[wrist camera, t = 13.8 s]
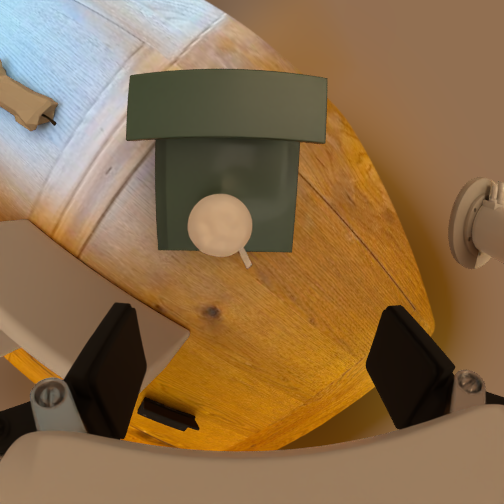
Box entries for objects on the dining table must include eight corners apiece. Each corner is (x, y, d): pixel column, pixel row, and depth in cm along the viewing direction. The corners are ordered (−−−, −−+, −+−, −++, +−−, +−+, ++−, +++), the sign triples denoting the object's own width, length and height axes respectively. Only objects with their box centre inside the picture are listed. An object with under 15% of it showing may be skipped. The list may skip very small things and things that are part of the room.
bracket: (58, 257, 46) (-69, 288, 17) (74, 214, 44) (-71, 229, 15) (164, 368, 44) (47, 481, 15) (193, 330, 41) (52, 461, 12)
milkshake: (227, 242, 29) (224, 287, 19) (191, 203, 27) (169, 231, 18) (261, 213, 28) (276, 246, 18) (226, 172, 26) (221, 183, 17)
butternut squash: (1, 48, 21) (84, 91, 28) (-12, 90, 25) (64, 141, 32) (-35, 55, 14) (42, 100, 21) (-46, 102, 18) (26, 160, 25)
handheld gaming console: (136, 421, 47) (136, 439, 38) (140, 391, 49) (140, 404, 40) (188, 430, 51) (197, 448, 42) (193, 401, 53) (203, 415, 44)
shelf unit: (174, 106, 30) (129, 75, 15) (286, 108, 31) (327, 77, 16) (173, 229, 36) (134, 284, 21) (279, 231, 37) (311, 287, 22)
